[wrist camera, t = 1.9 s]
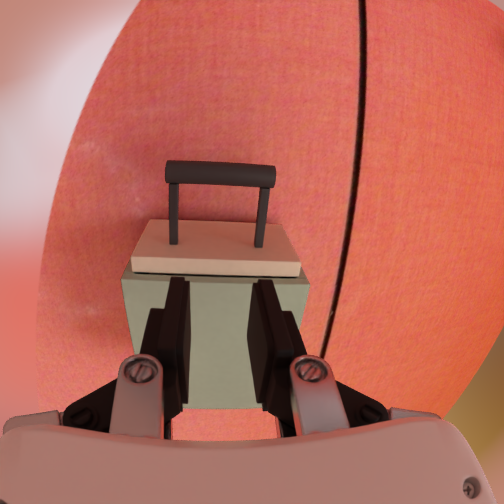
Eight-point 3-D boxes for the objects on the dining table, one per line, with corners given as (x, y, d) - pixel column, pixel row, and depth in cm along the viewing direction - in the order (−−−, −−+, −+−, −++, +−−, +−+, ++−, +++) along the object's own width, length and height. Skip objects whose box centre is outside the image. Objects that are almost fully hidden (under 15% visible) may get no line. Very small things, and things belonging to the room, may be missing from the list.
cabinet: (145, 227, 26) (120, 279, 18) (284, 232, 28) (310, 284, 20) (157, 345, 32) (147, 406, 25) (265, 347, 34) (277, 407, 26)
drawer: (149, 150, 22) (124, 167, 16) (290, 157, 23) (317, 176, 17) (159, 337, 30) (151, 385, 24) (263, 339, 32) (274, 387, 26)
